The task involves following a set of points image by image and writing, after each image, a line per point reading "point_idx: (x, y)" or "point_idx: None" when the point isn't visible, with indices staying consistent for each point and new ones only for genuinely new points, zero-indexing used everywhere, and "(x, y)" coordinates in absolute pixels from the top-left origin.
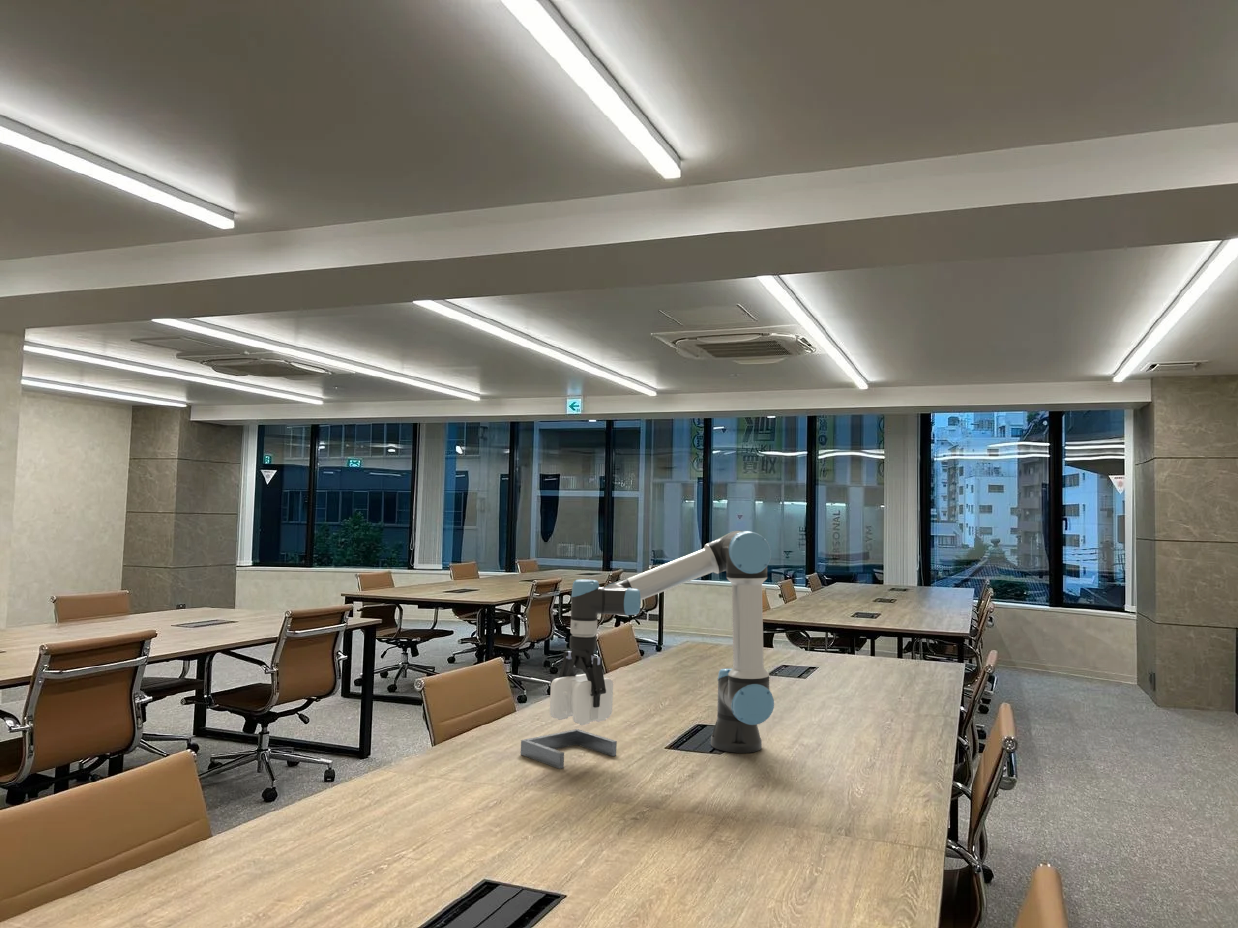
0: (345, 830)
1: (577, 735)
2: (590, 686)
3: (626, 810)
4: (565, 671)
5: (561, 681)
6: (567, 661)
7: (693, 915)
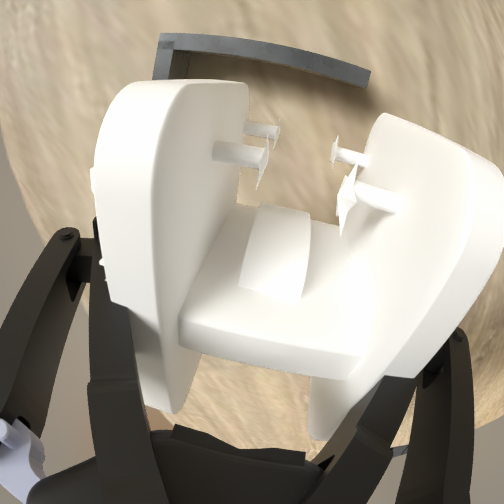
0: (246, 444)
1: (183, 50)
2: None
3: (470, 349)
4: (59, 332)
5: (180, 398)
6: (39, 413)
7: (498, 416)
